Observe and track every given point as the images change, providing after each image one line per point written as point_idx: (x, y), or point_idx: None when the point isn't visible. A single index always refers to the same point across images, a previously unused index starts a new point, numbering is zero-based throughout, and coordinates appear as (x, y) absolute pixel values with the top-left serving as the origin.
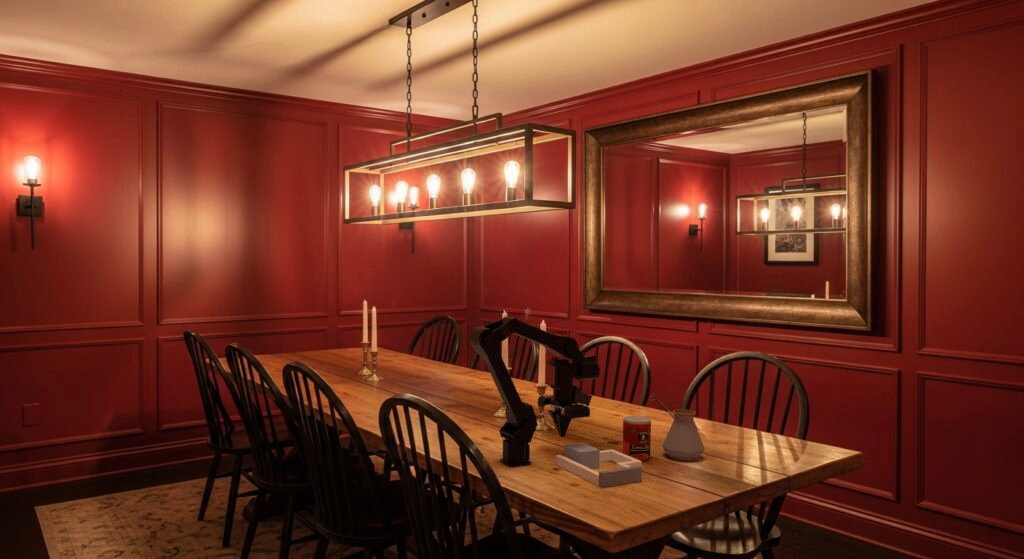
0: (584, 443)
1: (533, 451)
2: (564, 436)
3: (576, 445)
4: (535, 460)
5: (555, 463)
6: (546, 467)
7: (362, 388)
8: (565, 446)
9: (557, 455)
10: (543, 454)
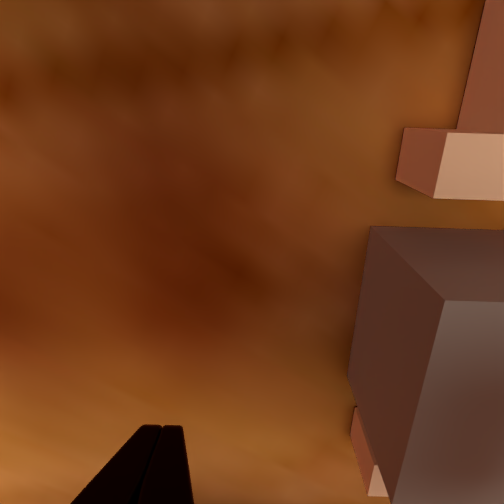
0: (487, 300)
1: (6, 401)
2: (182, 432)
3: (488, 425)
4: (211, 478)
5: (351, 440)
6: (365, 492)
7: None
8: (414, 498)
9: (381, 490)
10: (101, 384)
